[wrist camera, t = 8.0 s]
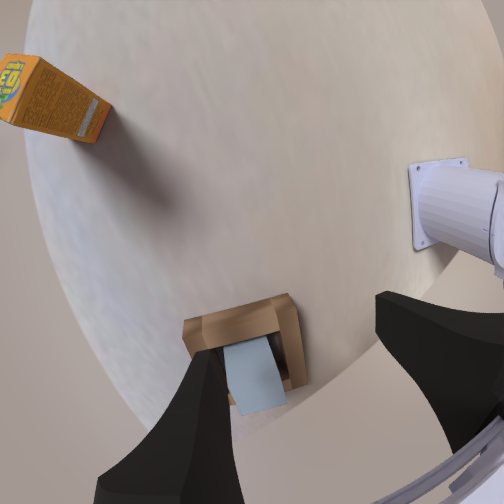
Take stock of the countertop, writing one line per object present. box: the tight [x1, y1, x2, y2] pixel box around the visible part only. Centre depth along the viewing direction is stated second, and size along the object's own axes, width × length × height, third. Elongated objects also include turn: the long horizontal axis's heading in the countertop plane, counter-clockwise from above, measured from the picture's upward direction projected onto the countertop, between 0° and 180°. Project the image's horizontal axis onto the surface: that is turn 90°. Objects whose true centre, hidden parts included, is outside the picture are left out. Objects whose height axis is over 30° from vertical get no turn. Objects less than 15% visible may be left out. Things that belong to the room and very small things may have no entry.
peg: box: [223, 334, 287, 416], centre depth 20 cm, size 4×4×6 cm
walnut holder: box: [182, 293, 308, 406], centre depth 21 cm, size 8×8×2 cm
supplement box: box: [0, 54, 111, 144], centre depth 10 cm, size 3×3×10 cm
